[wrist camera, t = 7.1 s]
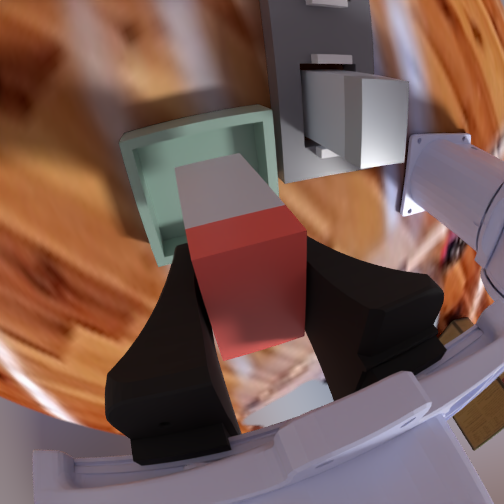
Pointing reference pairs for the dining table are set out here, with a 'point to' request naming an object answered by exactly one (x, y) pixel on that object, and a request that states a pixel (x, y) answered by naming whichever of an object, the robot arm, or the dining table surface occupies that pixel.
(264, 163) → the tray
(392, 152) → the block
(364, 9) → the fuse holder
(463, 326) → the food packaging
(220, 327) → the block
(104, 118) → the dining table surface
